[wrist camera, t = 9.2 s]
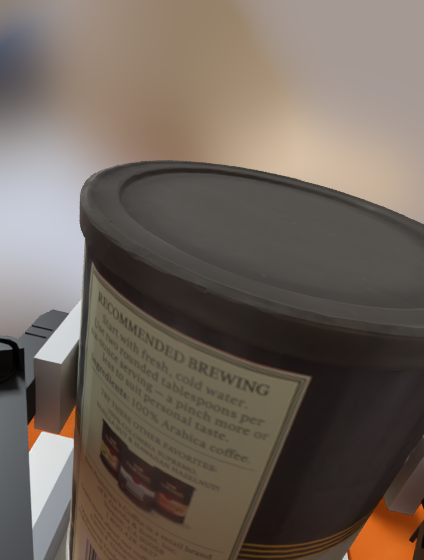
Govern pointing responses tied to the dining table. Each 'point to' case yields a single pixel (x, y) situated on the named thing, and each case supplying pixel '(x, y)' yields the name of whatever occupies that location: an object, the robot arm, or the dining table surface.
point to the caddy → (52, 495)
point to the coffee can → (240, 364)
